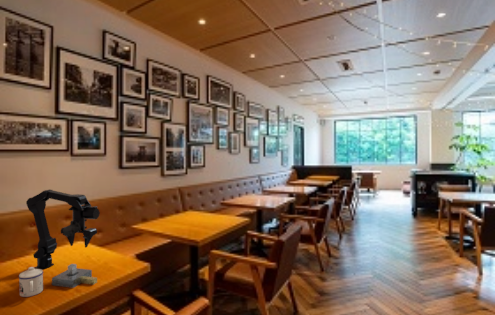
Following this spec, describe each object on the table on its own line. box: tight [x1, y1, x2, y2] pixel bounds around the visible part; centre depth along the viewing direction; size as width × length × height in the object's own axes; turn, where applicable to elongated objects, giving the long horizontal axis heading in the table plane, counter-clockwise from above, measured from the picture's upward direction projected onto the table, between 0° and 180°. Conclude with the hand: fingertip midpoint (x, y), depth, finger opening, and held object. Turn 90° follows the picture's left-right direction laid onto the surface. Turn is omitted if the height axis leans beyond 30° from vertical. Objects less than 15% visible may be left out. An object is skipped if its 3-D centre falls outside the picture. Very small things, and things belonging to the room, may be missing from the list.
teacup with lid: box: [18, 266, 44, 298], centre depth 131 cm, size 12×9×12 cm
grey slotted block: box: [51, 267, 98, 289], centre depth 143 cm, size 19×12×4 cm, turn 79°
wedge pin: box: [67, 263, 77, 276], centre depth 144 cm, size 3×3×8 cm
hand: (78, 246), depth 158 cm, fingers open, 9 cm apart
